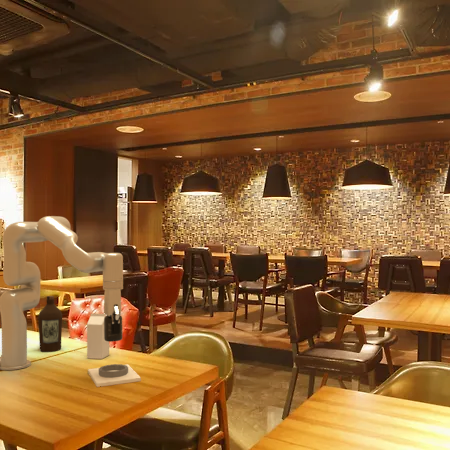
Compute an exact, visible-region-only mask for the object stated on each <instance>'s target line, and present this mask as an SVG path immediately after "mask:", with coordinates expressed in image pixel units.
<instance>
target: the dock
mask: <svg viewBox="0 0 450 450" xmlns="http://www.w3.org/2000/svg"><path fill="white" fill-rule="evenodd" d="M87 374H88V375H89V377H90V379H91V381H92V382H93V383H94V386H95V387H96V388H99V387H100V386H101V387H107V386H114V385H123V384H129V383H135V382H136V383H137V382H141V381H142V378H141V376H140V375H139V374H138V373H137V372H136V371H135V370H134V369H133V368H132V367H131V366H130V364H127V363H126V364H121V363H120V364H119V363H118V364H116V363H114V364H106V365H103V366H100V367H96V368H88V369H87Z"/></svg>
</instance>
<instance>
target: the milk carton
mask: <svg viewBox="0 0 450 450" xmlns="http://www.w3.org/2000/svg"><path fill="white" fill-rule="evenodd" d="M105 316H107V315H106V314H105V313H90V316H89V319H88V321H87V323H86V346H87V347H86V353H87V354H86V355H87V357H86V359H94V360H95V359H96V360H97V359H98V360H102V359H105V358H107V357H108V356H110V342H109V341H105V339H104V318H105Z"/></svg>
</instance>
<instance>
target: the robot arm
mask: <svg viewBox="0 0 450 450" xmlns="http://www.w3.org/2000/svg"><path fill="white" fill-rule="evenodd" d="M78 239H79V237H78V235H77V233H76V232H74V231H73V230H72V227H71V223H70V221H69V220H68V219H67V218H66V217H64V216H59V215H58V216H56V215H51V216H50V215H48V216H47V215H46V216H43V217H42V218H40V219H39V220H38V221H16V222H12V223H11V224H9V225H8V226H6V228H5V229H4V231H3V233H2V247H3V248H2V249H3V267H2V268H3V270H2V271H3V272H2V274H3V275H2V276H3V277H2V278H3V281H4V284H5V285H7V286H9V287H17V286H20V287H18V288H13V289H8V290H6V291H4V292H3V293H2V294H1V295H0V317H1V319H0V320H1V355H0V370H1V371H15V370H21V369H25V368H28V367H30V366H31V365H32V362H31V360H29V359H28V331H27V330H28V326H27V325H28V322H27V318H26V316H25V314H24V311H28V310H32V309H34V308H36V307H37V306H38V305H39V303H40V299H41V280H42V279H41V271H40V268H39V266H38V265H37V264H36V263H35V262H33V261H32V262H31V261H27V251H26V248H25V246H24V245H23V244H24V243H41V242H47V241H48V242H50V243H52V244H53V245H54V246H55V247H57V249H59V250H60V251H61V253H62V255H63V257H64V260H65V261H66V262H67V263H68V264H69V265H71V266H72V267H74V268H75V269H77V270H78V271H79V272H81V273H85V274H88V273H89V274H90V273H94V272H95V273H96V272H102V290H103V291H104V296H103V297H104V298H103V314H106V316H110V315H111V320H112V324H111V334H119V333H120V320H119V316H120V315H121V316H122V293H121V291H122V290H123V289H124V261H123V260H124V256H123V254H122V253H120V252H101V251H97V252H96V251H94V252H86V251H85V250H83V249H82V248H81V247H80V246H78V245H77V242H78ZM113 314H115V315H113ZM113 317H114V319H113Z"/></svg>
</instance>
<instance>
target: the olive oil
mask: <svg viewBox="0 0 450 450" xmlns="http://www.w3.org/2000/svg"><path fill="white" fill-rule="evenodd" d="M38 313H39V314H38V322H37V323H38V336H39V351H40V352H42V353H53V352H58V351H60V350H61V349H62V332H63V330H62V328H63V313H62V311H61V310H60V308H58V307H57V305H56V304H55V296H54V295H47V296H46V304H45V306H44V307H43V308H42V309H41V310H40V311H39V312H38Z"/></svg>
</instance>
